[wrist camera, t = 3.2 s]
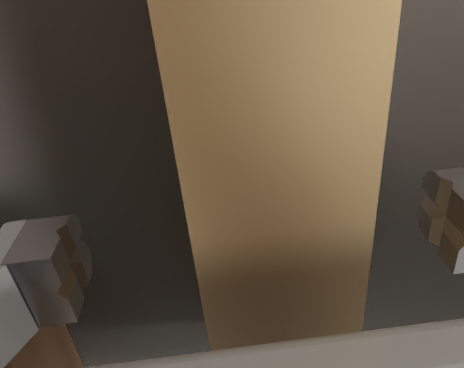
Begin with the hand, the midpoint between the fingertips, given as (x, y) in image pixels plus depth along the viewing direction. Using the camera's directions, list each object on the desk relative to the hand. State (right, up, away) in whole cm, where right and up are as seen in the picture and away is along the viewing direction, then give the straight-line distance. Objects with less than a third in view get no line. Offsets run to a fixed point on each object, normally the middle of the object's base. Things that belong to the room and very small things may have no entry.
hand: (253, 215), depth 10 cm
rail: (0, +2, +2) cm, 2 cm away
